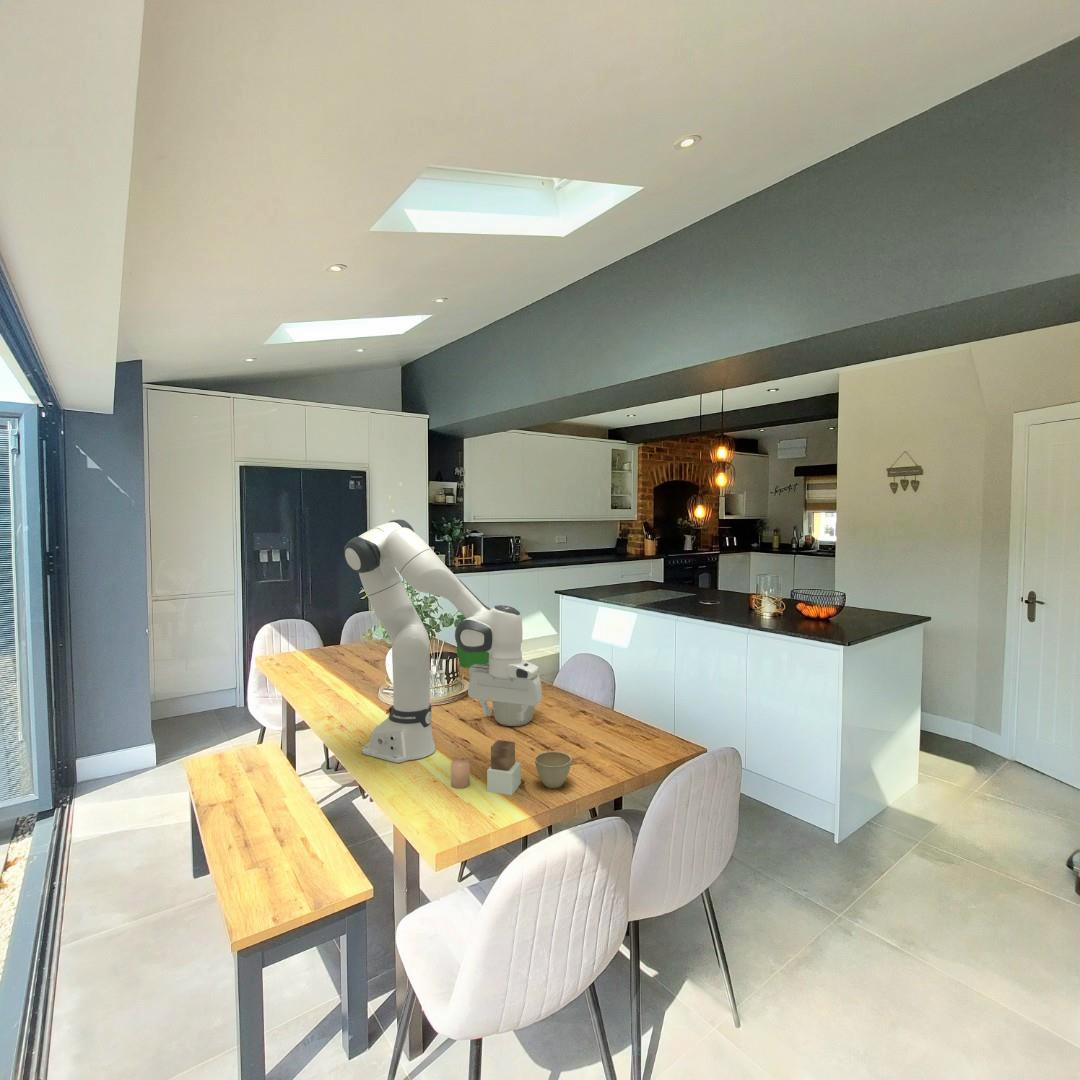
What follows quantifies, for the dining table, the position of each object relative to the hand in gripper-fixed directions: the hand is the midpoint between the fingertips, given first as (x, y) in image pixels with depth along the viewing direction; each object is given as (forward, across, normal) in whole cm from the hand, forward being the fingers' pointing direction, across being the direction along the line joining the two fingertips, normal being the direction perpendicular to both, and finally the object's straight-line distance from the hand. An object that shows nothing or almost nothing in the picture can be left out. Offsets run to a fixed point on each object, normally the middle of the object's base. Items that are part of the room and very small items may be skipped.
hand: (503, 717), depth 161 cm
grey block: (+19, +1, 0) cm, 19 cm away
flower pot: (+19, +13, +6) cm, 24 cm away
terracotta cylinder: (+20, -11, -2) cm, 23 cm away
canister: (+19, -14, +48) cm, 54 cm away
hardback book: (+20, -58, +118) cm, 133 cm away
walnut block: (+13, 0, 0) cm, 13 cm away
